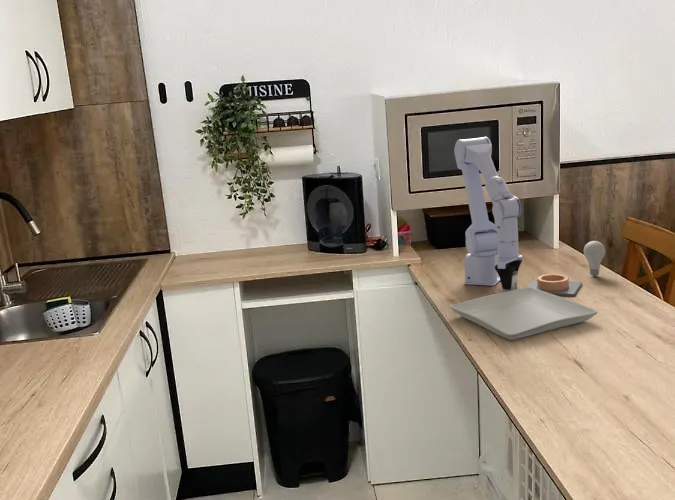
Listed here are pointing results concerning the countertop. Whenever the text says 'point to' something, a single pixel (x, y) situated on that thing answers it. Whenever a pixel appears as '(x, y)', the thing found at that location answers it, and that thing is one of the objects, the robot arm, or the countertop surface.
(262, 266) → the countertop surface
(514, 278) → the silver metal cylinder
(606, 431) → the countertop surface
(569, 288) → the duct flange
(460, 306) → the square plate
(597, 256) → the lightbulb
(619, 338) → the countertop surface
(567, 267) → the countertop surface
